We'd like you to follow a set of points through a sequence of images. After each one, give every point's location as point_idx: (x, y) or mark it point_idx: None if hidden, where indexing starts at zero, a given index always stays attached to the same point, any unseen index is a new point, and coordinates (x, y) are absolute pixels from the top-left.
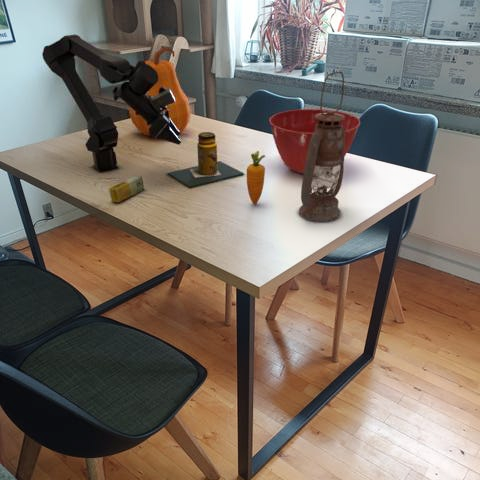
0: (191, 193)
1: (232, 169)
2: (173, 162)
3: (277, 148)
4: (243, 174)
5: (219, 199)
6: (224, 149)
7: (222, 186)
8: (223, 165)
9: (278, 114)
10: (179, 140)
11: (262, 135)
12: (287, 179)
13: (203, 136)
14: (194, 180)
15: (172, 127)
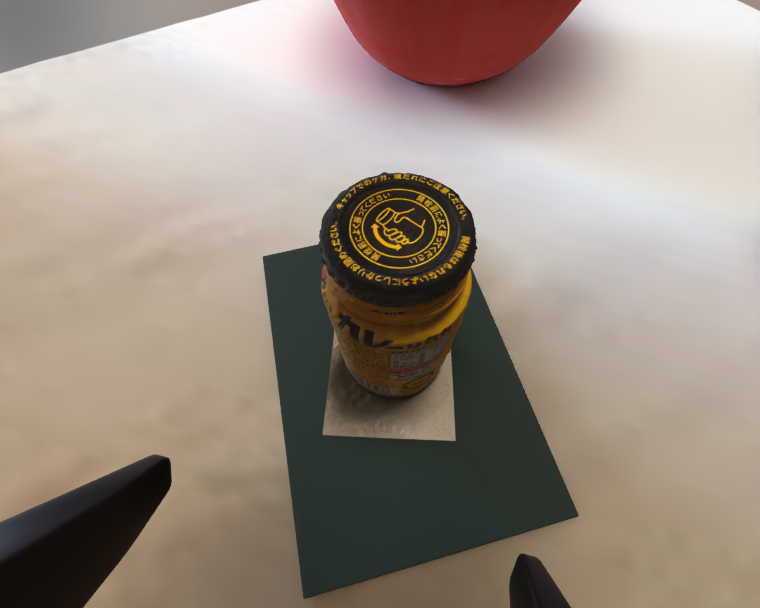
0: (656, 529)
1: None
2: None
3: (446, 33)
4: None
5: (742, 402)
6: (117, 199)
7: (567, 337)
8: None
9: None
10: (557, 591)
11: (75, 61)
12: (529, 119)
13: (457, 267)
14: (489, 456)
15: (52, 571)
